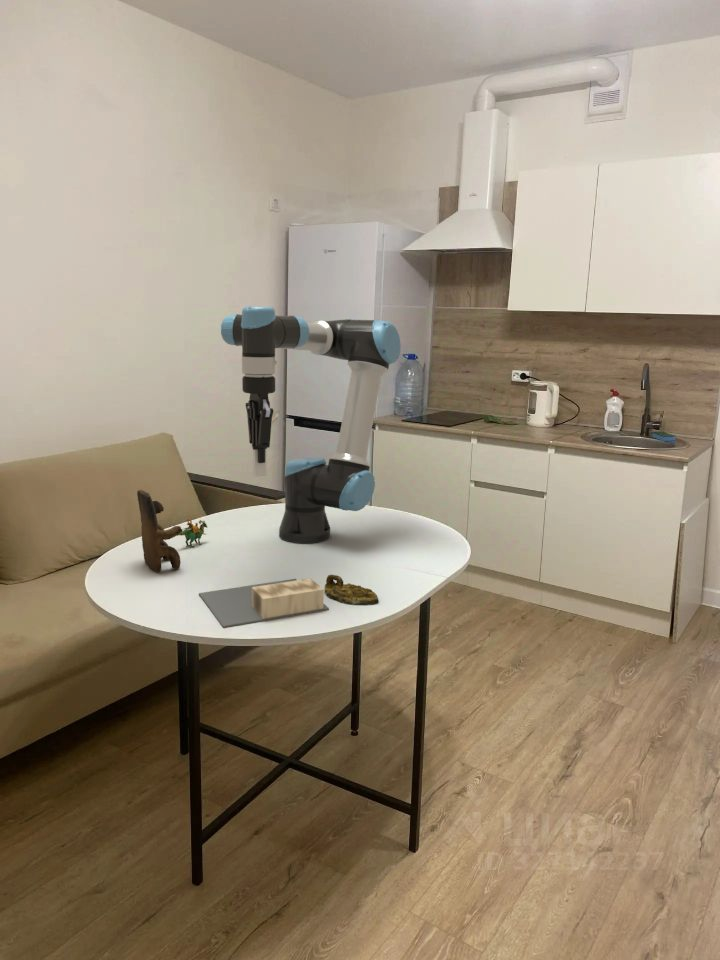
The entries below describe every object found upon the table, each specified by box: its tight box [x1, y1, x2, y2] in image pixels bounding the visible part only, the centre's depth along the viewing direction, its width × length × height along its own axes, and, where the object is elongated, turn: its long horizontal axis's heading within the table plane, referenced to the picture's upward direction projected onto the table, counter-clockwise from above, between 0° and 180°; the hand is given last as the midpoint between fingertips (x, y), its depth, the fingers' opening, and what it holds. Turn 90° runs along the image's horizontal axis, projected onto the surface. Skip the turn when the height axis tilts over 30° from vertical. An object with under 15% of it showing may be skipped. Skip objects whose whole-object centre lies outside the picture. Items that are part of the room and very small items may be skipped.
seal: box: [324, 574, 379, 606], centre depth 170 cm, size 9×5×15 cm
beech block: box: [252, 578, 325, 619], centre depth 161 cm, size 8×4×14 cm
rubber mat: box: [198, 578, 330, 629], centre depth 165 cm, size 24×20×1 cm
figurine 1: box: [136, 489, 183, 573], centre depth 184 cm, size 13×8×20 cm, turn 37°
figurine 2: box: [176, 518, 208, 548], centre depth 202 cm, size 3×12×8 cm, turn 143°
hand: (259, 475), depth 172 cm, fingers closed
